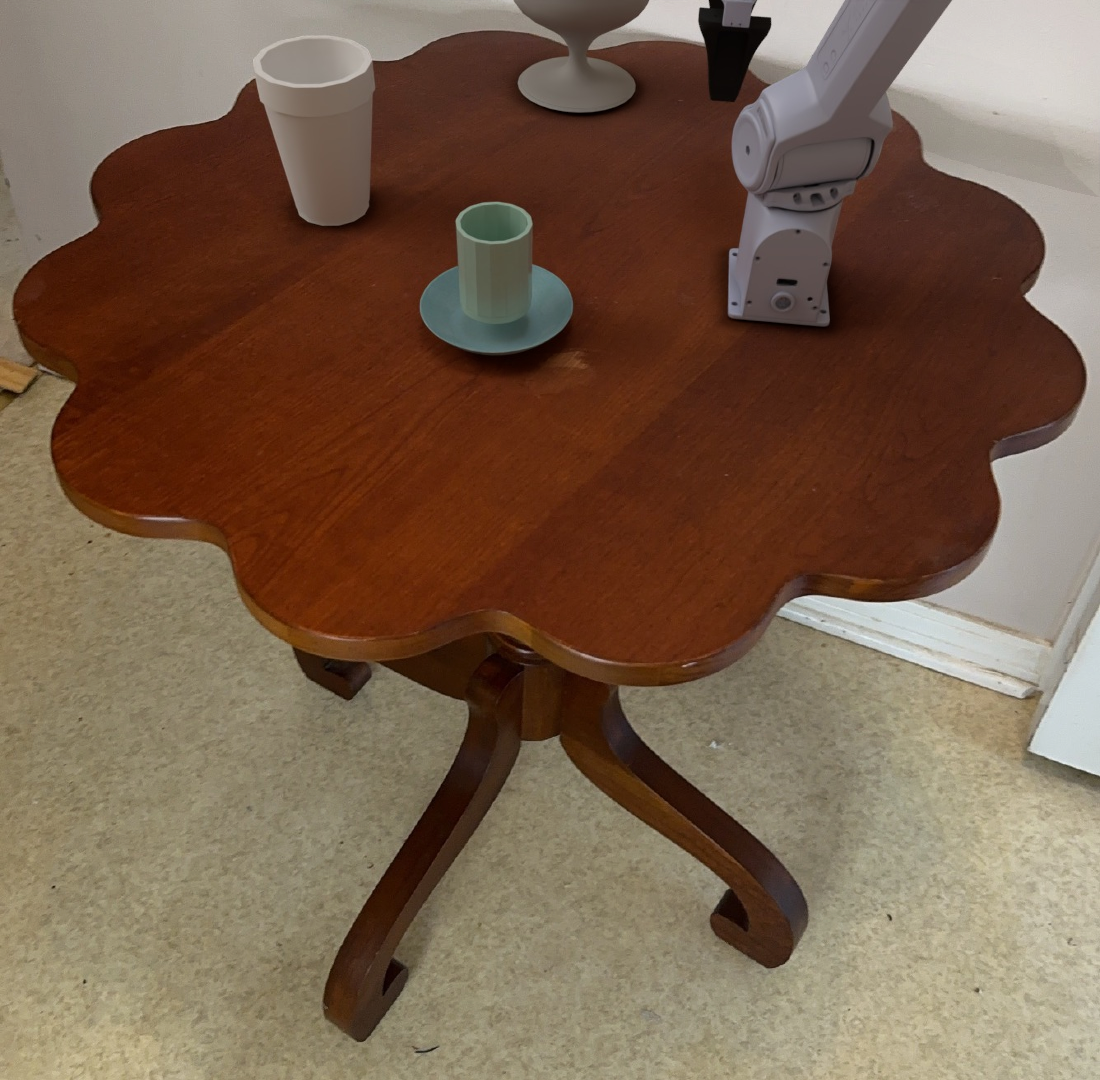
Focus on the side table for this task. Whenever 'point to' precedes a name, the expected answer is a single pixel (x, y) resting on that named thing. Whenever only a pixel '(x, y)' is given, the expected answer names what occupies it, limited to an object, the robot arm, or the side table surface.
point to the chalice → (578, 55)
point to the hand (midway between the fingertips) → (723, 78)
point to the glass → (494, 262)
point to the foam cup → (321, 122)
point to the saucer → (497, 339)
